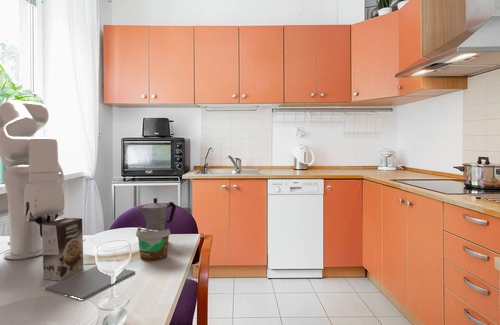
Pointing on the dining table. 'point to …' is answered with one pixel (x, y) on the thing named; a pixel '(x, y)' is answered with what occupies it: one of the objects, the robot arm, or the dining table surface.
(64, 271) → the coffee box
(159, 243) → the food container
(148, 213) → the coffeepot
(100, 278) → the mat
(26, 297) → the dining table surface
